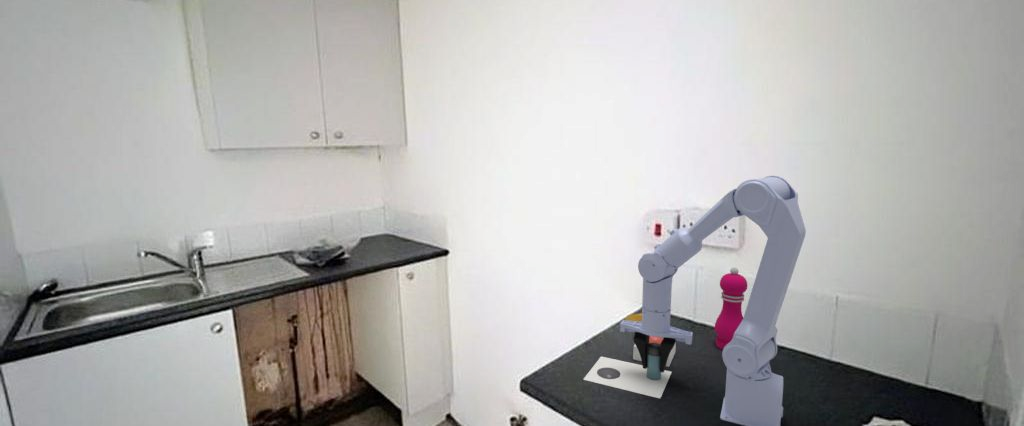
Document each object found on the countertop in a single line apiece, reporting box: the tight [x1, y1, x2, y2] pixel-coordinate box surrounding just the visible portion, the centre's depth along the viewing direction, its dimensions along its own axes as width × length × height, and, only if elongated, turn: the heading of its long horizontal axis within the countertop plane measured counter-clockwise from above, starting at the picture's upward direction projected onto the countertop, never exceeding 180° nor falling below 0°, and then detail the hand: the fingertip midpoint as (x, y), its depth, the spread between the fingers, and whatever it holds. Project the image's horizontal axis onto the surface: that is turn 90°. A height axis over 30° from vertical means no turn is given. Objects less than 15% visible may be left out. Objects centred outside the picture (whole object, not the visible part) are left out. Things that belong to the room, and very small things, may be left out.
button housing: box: [632, 341, 677, 368], centre depth 111 cm, size 8×8×4 cm
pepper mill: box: [714, 267, 748, 351], centre depth 115 cm, size 7×7×20 cm
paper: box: [583, 356, 673, 399], centre depth 102 cm, size 16×12×1 cm
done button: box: [649, 336, 664, 345], centre depth 111 cm, size 4×4×2 cm
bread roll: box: [623, 312, 642, 322], centre depth 128 cm, size 8×9×4 cm
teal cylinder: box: [647, 343, 661, 380], centre depth 101 cm, size 3×3×7 cm
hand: (654, 368), depth 101 cm, fingers closed on teal cylinder, 3 cm apart
